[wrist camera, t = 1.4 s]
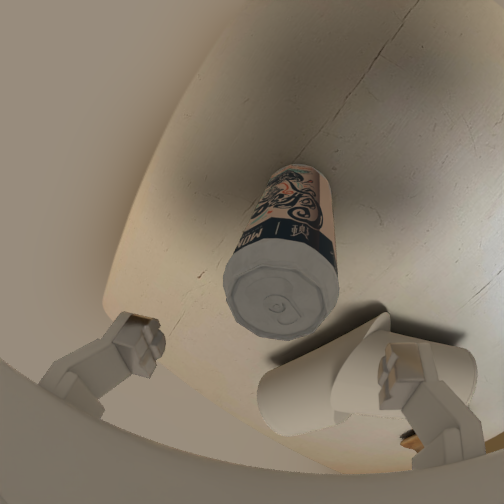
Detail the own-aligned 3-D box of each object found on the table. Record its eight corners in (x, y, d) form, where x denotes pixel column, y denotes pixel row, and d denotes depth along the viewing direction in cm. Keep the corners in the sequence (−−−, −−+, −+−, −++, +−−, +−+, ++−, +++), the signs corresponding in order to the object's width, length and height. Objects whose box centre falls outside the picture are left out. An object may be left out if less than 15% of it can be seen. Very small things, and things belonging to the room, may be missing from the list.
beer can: (309, 149, 19) (299, 230, 9) (343, 205, 20) (359, 326, 10) (254, 182, 21) (191, 284, 11) (289, 232, 23) (260, 357, 13)
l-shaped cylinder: (416, 255, 20) (248, 356, 30) (465, 377, 12) (243, 448, 22) (465, 328, 27) (341, 391, 37) (490, 403, 19) (346, 457, 29)
